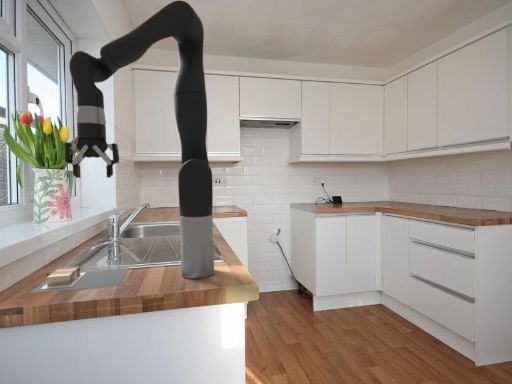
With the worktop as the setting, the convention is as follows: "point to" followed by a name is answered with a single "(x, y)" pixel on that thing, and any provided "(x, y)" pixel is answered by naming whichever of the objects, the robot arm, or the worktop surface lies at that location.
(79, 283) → the rubber mat
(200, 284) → the worktop surface
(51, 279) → the birch tile
